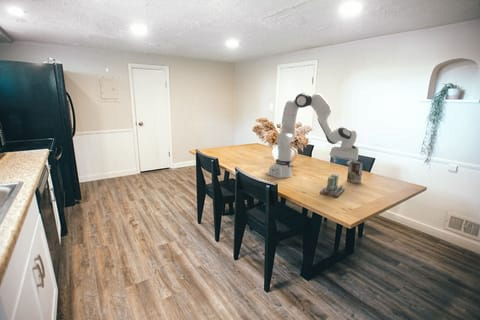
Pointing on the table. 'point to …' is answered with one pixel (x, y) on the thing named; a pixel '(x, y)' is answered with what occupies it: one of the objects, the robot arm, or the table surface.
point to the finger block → (335, 180)
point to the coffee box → (355, 171)
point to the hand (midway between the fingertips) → (340, 163)
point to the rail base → (332, 188)
